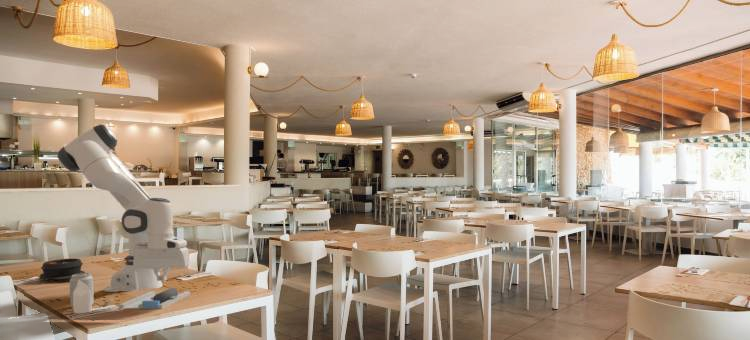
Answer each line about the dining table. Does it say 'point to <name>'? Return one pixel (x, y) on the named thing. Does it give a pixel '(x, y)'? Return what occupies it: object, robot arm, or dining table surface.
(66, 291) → the dining table surface
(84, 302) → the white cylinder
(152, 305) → the grey shallow tray
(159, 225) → the robot arm
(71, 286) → the can
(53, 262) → the casserole
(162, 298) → the dark grey capsule
